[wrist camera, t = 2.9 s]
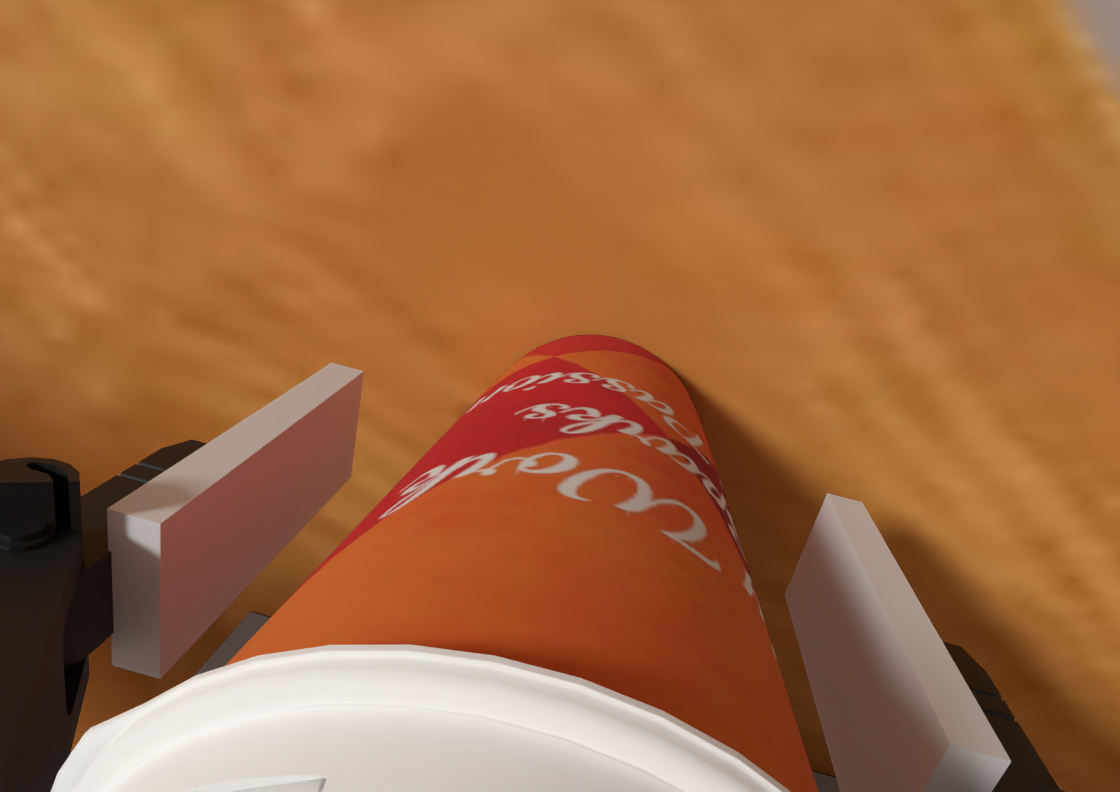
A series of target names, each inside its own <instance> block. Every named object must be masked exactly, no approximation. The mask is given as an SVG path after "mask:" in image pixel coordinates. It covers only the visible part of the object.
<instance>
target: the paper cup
mask: <svg viewBox="0 0 1120 792" xmlns="http://www.w3.org/2000/svg"><path fill="white" fill-rule="evenodd" d="M51 792H818V789H817V786H816V782H815V779H814V776H813V773H812V770H811V767H810V763H809V760H808V757H807V754H806V751H805V747H804V744H803V741H802V738H801V735H800V732H799V728H798V725H797V722H796V719H795V716H794V713H793V709H792V706H791V703H790V700H789V697H788V694H787V690H786V687H785V684H784V681H783V678H782V675H781V671H780V668H779V665H778V662H777V659H776V655H775V652H774V649H773V646H772V643H771V639H770V636H769V633H768V630H767V627H766V624H765V620H764V617H763V614H762V611H761V608H760V604H759V601H758V598H757V595H756V592H755V589H754V585H753V582H752V579H751V576H750V573H749V569H748V566H747V563H746V560H745V557H744V554H743V550H742V547H741V544H740V541H739V538H738V535H737V531H736V528H735V525H734V522H733V519H732V516H731V513H730V510H729V506H728V503H727V500H726V497H725V494H724V491H723V488H722V485H721V481H720V478H719V475H718V472H717V469H716V466H715V463H714V460H713V457H712V454H711V451H710V448H709V445H708V442H707V439H706V436H705V433H704V431H703V428H702V425H701V422H700V420H699V417H698V414H697V412H696V409H695V407H694V405H693V403H692V400H691V398H690V396H689V394H688V392H687V391H686V389H685V387H684V386H683V384H682V383H681V381H680V380H679V379H678V377H677V376H676V375H675V374H674V373H673V371H672V370H671V369H670V368H669V367H668V366H667V365H666V364H665V363H663V362H662V361H661V360H660V359H659V358H657V357H656V356H655V355H653V354H652V353H650V352H649V351H647V350H645V349H643V348H642V347H640V346H638V345H635V344H633V343H631V342H628V341H625V340H622V339H618V338H614V337H609V336H602V335H577V336H570V337H565V338H561V339H558V340H555V341H552V342H549V343H547V344H544V345H542V346H540V347H538V348H536V349H534V350H533V351H531V352H530V353H528V354H527V355H525V356H524V357H523V358H521V359H520V360H519V361H518V362H516V363H515V364H514V365H513V366H511V367H510V368H509V369H508V370H507V371H506V372H505V373H504V374H503V375H502V376H501V377H500V378H499V379H498V380H497V381H496V382H495V383H494V384H493V385H492V386H491V387H490V388H489V389H488V390H487V391H486V392H485V393H484V394H483V395H482V396H481V397H480V398H479V399H478V400H477V401H476V402H475V403H474V404H473V405H472V406H471V407H470V408H469V409H468V410H467V411H466V412H465V413H464V414H463V415H462V416H461V417H460V418H459V420H458V421H457V422H456V423H455V424H454V425H453V426H452V427H451V428H450V429H449V430H448V431H447V432H446V433H445V434H444V435H443V436H442V437H441V438H440V439H439V440H438V441H437V443H436V444H435V445H434V446H433V447H432V448H431V449H430V450H429V451H428V452H427V453H426V454H425V455H424V456H423V457H422V458H421V459H420V460H419V461H418V462H417V463H416V465H415V466H414V467H413V468H412V469H411V470H410V471H409V472H408V473H407V474H406V475H405V476H404V477H403V478H402V479H401V480H400V481H399V483H398V484H397V485H396V486H395V487H394V488H393V489H392V490H391V491H390V492H389V493H388V494H387V495H386V496H385V497H384V498H383V499H382V501H381V502H380V503H379V504H378V505H377V506H376V507H375V508H374V509H373V510H372V511H371V512H370V513H369V514H368V515H367V516H366V517H365V519H364V520H363V521H362V522H361V523H360V524H359V525H358V526H357V527H356V528H355V529H354V530H353V531H352V532H351V533H350V534H349V535H348V536H347V538H346V539H345V540H344V541H343V542H342V543H341V544H340V545H339V546H338V547H337V548H336V549H335V550H334V551H333V552H332V553H331V554H330V556H329V557H328V558H327V559H326V560H325V561H324V562H323V563H322V564H321V565H320V566H319V567H318V568H317V569H316V570H315V571H314V572H313V574H312V575H311V576H310V577H309V578H308V579H307V580H306V581H305V582H304V583H303V584H302V585H301V586H300V587H299V588H298V589H297V590H296V591H295V593H294V594H293V595H292V596H291V597H290V598H289V599H288V600H287V601H286V602H285V603H284V604H283V605H282V606H281V607H280V608H279V609H278V610H277V612H276V613H275V614H274V615H273V616H272V617H271V618H270V619H269V620H268V621H267V622H266V623H265V624H264V625H263V626H262V627H261V628H260V629H259V631H258V632H257V633H256V634H255V635H254V636H253V637H252V638H251V639H250V640H249V641H248V642H247V643H246V644H245V645H244V646H243V647H242V648H241V650H240V651H239V652H238V653H237V654H236V655H235V656H234V657H233V658H232V659H231V660H230V661H229V662H228V663H227V664H226V665H225V666H224V667H220V668H217V669H214V670H211V671H208V672H205V673H202V674H199V675H196V676H194V677H192V678H190V679H188V680H186V681H184V682H183V683H181V684H179V685H177V686H175V687H173V688H172V689H170V690H168V691H166V692H164V693H162V694H160V695H159V696H157V697H155V698H153V699H151V700H149V701H147V702H146V703H144V704H141V705H139V706H137V707H135V708H133V709H131V710H128V711H126V712H124V713H122V714H120V715H117V716H115V717H113V718H111V719H109V720H107V721H104V722H102V723H100V724H98V725H96V726H93V727H91V728H90V729H89V730H88V731H87V732H86V733H85V734H84V735H83V737H82V738H81V740H80V741H79V742H78V744H77V745H76V747H75V748H74V750H73V751H72V753H71V754H70V755H69V757H68V758H67V760H66V761H65V763H64V764H63V766H62V767H61V769H60V770H59V771H58V773H57V776H56V779H55V781H54V784H53V787H52V790H51Z"/></svg>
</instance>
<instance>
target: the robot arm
mask: <svg viewBox="0 0 1120 792" xmlns="http://www.w3.org/2000/svg"><path fill="white" fill-rule="evenodd" d="M363 373H364V371H361V370H357V369H353V368H349V367H346V366H342V365H338V364H334V363H330V364H329V365H327V366H326V367H324V368H323V369H321V370H320V371H318V372H317V373H315V374H313V375H312V376H310V377H309V378H307V379H306V380H304V381H303V382H301V383H300V384H298V385H297V386H295V387H293V388H292V389H290V390H289V391H287V392H286V393H284V394H283V395H281V396H280V397H278V398H277V399H275V400H273V401H272V402H270V403H269V404H267V405H266V406H264V407H263V408H261V409H260V410H258V411H257V412H255V413H253V414H252V415H250V416H249V417H247V418H246V419H244V420H243V421H241V422H240V423H238V424H237V425H235V426H233V427H232V428H230V429H229V430H227V431H226V432H224V433H223V434H221V435H220V436H218V437H217V438H215V439H213V440H212V441H210V442H209V443H207V444H206V443H202V442H198V441H195V440H189V441H185V442H182V443H178V444H175V445H172V446H168V447H165V448H162V449H160V450H158V451H157V452H155V453H153V454H152V455H150V456H148V457H147V458H145V459H143V460H142V461H140V462H139V465H136V464H135V465H133V466H132V467H130V468H128V469H127V470H125V471H123V472H122V473H121V475H120V476H115V477H113V478H112V479H110V480H108V481H107V482H105V483H103V484H102V485H100V486H98V487H97V488H95V489H93V490H92V491H90V492H88V493H87V494H85V495H83V496H82V497H80V479H79V472H78V471H77V470H76V469H75V468H74V467H72V466H71V465H70V464H67V463H64V462H61V461H57V460H54V459H45V458H32V457H31V458H18V459H7V460H3V461H0V792H51V790H52V787H53V784H54V781H55V779H56V776H57V773H58V771H59V770H60V769H61V767H62V766H63V764H64V763H65V761H66V760H67V758H68V757H69V755H70V751H71V747H72V743H73V739H74V735H75V731H76V727H77V723H78V719H79V715H80V711H81V706H82V702H83V698H84V694H85V690H86V686H87V682H88V678H89V660H88V655H89V654H90V653H91V652H92V651H93V650H94V649H96V648H97V647H98V646H99V645H100V644H101V643H102V642H103V641H105V640H106V639H107V638H108V637H109V636H110V635H111V650H112V665H113V666H116V667H120V668H123V669H126V670H130V671H133V672H137V673H140V674H144V675H147V676H150V677H154V678H157V679H161V678H162V677H163V676H164V675H165V674H166V673H167V672H168V671H169V669H170V668H171V667H172V666H173V665H174V664H175V663H176V662H177V661H178V660H179V659H180V658H181V657H182V656H183V655H184V654H185V652H186V651H187V650H188V649H189V648H190V647H191V646H192V645H193V644H194V643H195V642H196V641H197V640H198V639H199V638H200V637H201V635H202V634H203V633H204V632H205V631H206V630H207V629H208V628H209V627H210V626H211V625H212V624H213V623H214V622H215V621H216V620H217V619H218V617H219V616H220V615H221V614H222V613H223V612H224V611H225V610H226V609H227V608H228V607H229V606H230V605H231V604H232V603H233V602H234V600H235V599H236V598H237V597H238V596H239V595H240V594H241V593H242V592H243V591H244V590H245V589H246V588H247V587H248V586H249V585H250V583H251V582H252V581H253V580H254V579H255V578H256V577H257V576H258V575H259V574H260V573H261V572H262V571H263V570H264V569H265V568H266V566H267V565H268V564H269V563H270V562H271V561H272V560H273V559H274V558H275V557H276V556H277V555H278V554H279V553H280V552H281V551H282V550H283V548H284V547H285V546H286V545H287V544H288V543H289V542H290V541H291V540H292V539H293V538H294V537H295V536H296V535H297V534H298V533H299V531H300V530H301V529H302V528H303V527H304V526H305V525H306V524H307V523H308V522H309V521H310V520H311V519H312V518H313V517H314V516H315V514H316V513H317V512H318V511H319V510H320V509H321V508H322V507H323V506H324V505H325V504H326V503H327V502H328V501H329V500H330V499H331V498H332V496H333V495H334V494H335V493H336V492H337V491H338V490H339V489H340V488H341V487H342V486H343V485H344V484H345V483H346V482H347V481H348V479H349V478H350V477H351V472H352V464H353V456H354V448H355V439H356V431H357V423H358V415H359V406H360V398H361V390H362V382H363ZM784 595H785V599H786V602H787V606H788V609H789V613H790V616H791V620H792V623H793V627H794V631H795V634H796V638H797V641H798V645H799V648H800V652H801V655H802V659H803V662H804V666H805V670H806V673H807V677H808V680H809V684H810V687H811V691H812V694H813V698H814V702H815V705H816V709H817V712H818V716H819V719H820V723H821V726H822V730H823V733H824V737H825V741H826V744H827V748H828V751H829V755H830V758H831V762H832V765H833V769H834V773H835V776H836V780H837V783H838V787H839V790H840V792H1065V791H1063V790H1060V789H1059V787H1058V786H1057V784H1056V783H1055V781H1054V779H1053V778H1052V776H1051V775H1050V773H1049V771H1048V770H1047V768H1046V767H1045V765H1044V763H1043V762H1042V760H1041V759H1040V757H1039V755H1038V754H1037V752H1036V751H1035V749H1034V748H1033V746H1032V744H1031V743H1030V741H1029V740H1028V738H1027V736H1026V735H1025V733H1024V732H1023V730H1022V728H1021V727H1020V725H1019V724H1018V722H1015V721H1014V716H1013V714H1012V712H1011V711H1010V709H1009V708H1008V706H1007V704H1006V703H1005V701H1002V700H1001V695H1000V693H999V692H998V690H997V688H996V687H995V685H994V684H993V682H992V680H991V679H990V677H989V676H988V674H987V672H986V671H985V670H984V669H983V668H982V667H981V666H980V665H979V664H978V663H977V662H976V661H975V660H974V659H973V658H972V657H971V656H970V655H969V654H967V653H966V652H965V651H964V650H963V649H962V648H961V647H960V646H956V645H952V644H949V643H945V642H942V640H941V638H940V637H939V635H938V633H937V631H936V630H935V628H934V626H933V624H932V623H931V621H930V619H929V617H928V616H927V614H926V612H925V611H924V609H923V607H922V605H921V604H920V602H919V600H918V598H917V597H916V595H915V593H914V591H913V590H912V588H911V586H910V584H909V583H908V581H907V579H906V578H905V576H904V574H903V572H902V571H901V569H900V567H899V565H898V564H897V562H896V560H895V558H894V557H893V555H892V553H891V551H890V550H889V548H888V546H887V545H886V543H885V541H884V539H883V538H882V536H881V534H880V532H879V531H878V529H877V527H876V525H875V524H874V522H873V520H872V519H871V517H870V515H869V513H868V512H867V510H866V508H865V506H864V505H863V503H862V502H859V501H855V500H851V499H848V498H844V497H840V496H836V495H832V494H829V493H827V495H826V497H825V500H824V502H823V505H822V507H821V509H820V512H819V514H818V516H817V519H816V521H815V523H814V526H813V528H812V530H811V533H810V535H809V538H808V540H807V542H806V545H805V547H804V549H803V552H802V554H801V556H800V559H799V561H798V563H797V566H796V568H795V571H794V573H793V575H792V578H791V580H790V582H789V585H788V587H787V589H786V592H785V594H784Z"/></svg>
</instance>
